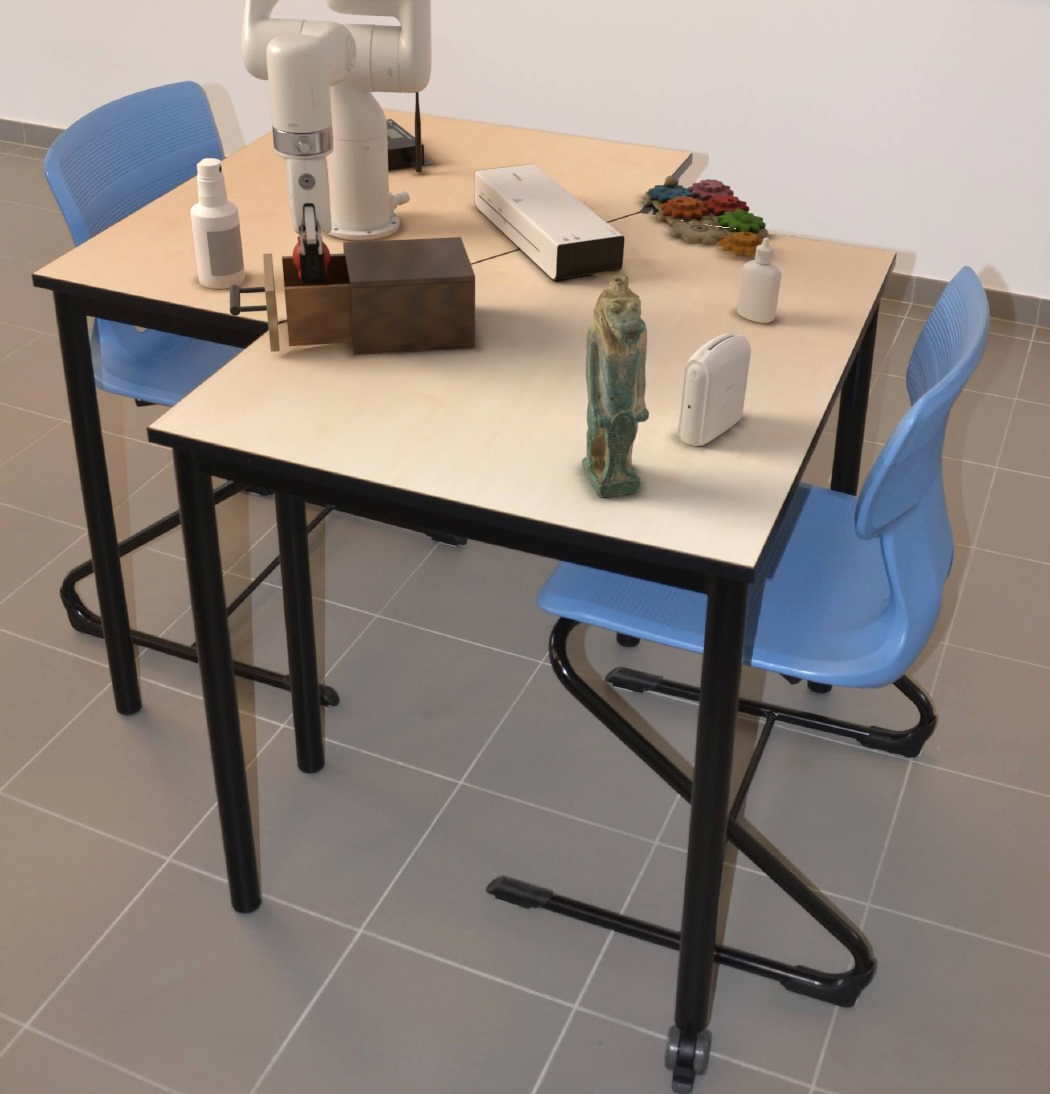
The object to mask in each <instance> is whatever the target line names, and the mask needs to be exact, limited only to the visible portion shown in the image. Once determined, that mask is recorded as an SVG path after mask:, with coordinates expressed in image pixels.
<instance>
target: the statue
mask: <svg viewBox="0 0 1050 1094" xmlns="http://www.w3.org/2000/svg"><path fill="white" fill-rule="evenodd" d="M629 282H630V277H629V276H628V275H626V274H619V275H617V276H614V277H612V278H611V279H610V280H609V284H608V287H606V288H605V289H603V290H602V292H601V293H600V294H599V295H598V298H597V300H596V303H595V307H594V308H593V309H594V310H593V322H592V323H591V324H590V325H589V327H588V330H587V334H586V357H585V382H586V390H587V409H586V425H587V429H586V453H585V454H586V456H585V457H584V458H582V459H581V465H582V469H583V471H584V474H585V475H586V477H587V479H588V480H589V483H590V484H591V487H592V488H593V490H594V491H595V493H596V495H597V496H598V497H599V498H611V497H620V496H625V495H628V494H629V495H630V494H636V493H638V492H639V490H640V487H641V478H640V476H639V473H638V470H637V469H636V468H635V466H634V465H633V458H632V456H633V448H634V442H635V441H636V438H637V434H638V431H639V430H638V429H639V423H645V422H647V420H649V417H650V411H649V410H648V409H647V405H646V399H645V396H646V386H647V380H646V363H647V351H648V349H647V347H648V329H647V324H646V322H645V321H644V320H643V318H641V316H642V300H641V298H640V295H638V294H637V293H635V292H633V291H632V290H631V288H630V287H629V285H630V283H629Z"/></svg>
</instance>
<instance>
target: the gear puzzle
mask: <svg viewBox="0 0 1050 1094" xmlns="http://www.w3.org/2000/svg"><path fill="white" fill-rule="evenodd" d="M647 190H648V191H646V192H645V196H643V197H642V202H643V204H644V205H645V206H653V207H654V208H655V209H656V210H658V211H657V212H655V218H656V219H657V220H658V221H659V222H663V221H666V222H667V223H668V224H669V225H670V226H672V228H671V229H670V234H671V235H672V236H673V237H674V238H679V237H680V238H682V239H683V241H684V242H685V243H703V245H716V244H717V242H718V246H719V247H721V248H722V252H730V253H731V252H732V254H733V255H734V256H740V255H745V256H748V257H753V256H755V254H756V247H757V246H758V245H761V244H762V242H763V239H764V238H767V237H768V235H769V231H768V230H767V228H766V227H767V223H766V222H765V221H764V217H762V216H759V215H755V214H754V213H752V212H750V206H748V205H747V201H743V200H740V199H739V196H734V195H735V194H734V193H735V192H734V190H732V189H731V186H730V185H726V184H724V182H723V181H721V180H717V179H711V178H707V179H701V180H700V181H698V182H693V183H692V185H691V186H689V187H684V186H683V185H682V184H677V178H676V177H675V176H673V175H668V176H666V177H665V179H664V185H663V184H655V185H654V187H652V188H649V189H647ZM681 220H683V221H681ZM691 222H692V223H691ZM705 224H707V225H705ZM708 225H709V226H708ZM710 225H712V226H710ZM716 226H722V227H729V228H722V227H716ZM734 228H736V229H734Z"/></svg>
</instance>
